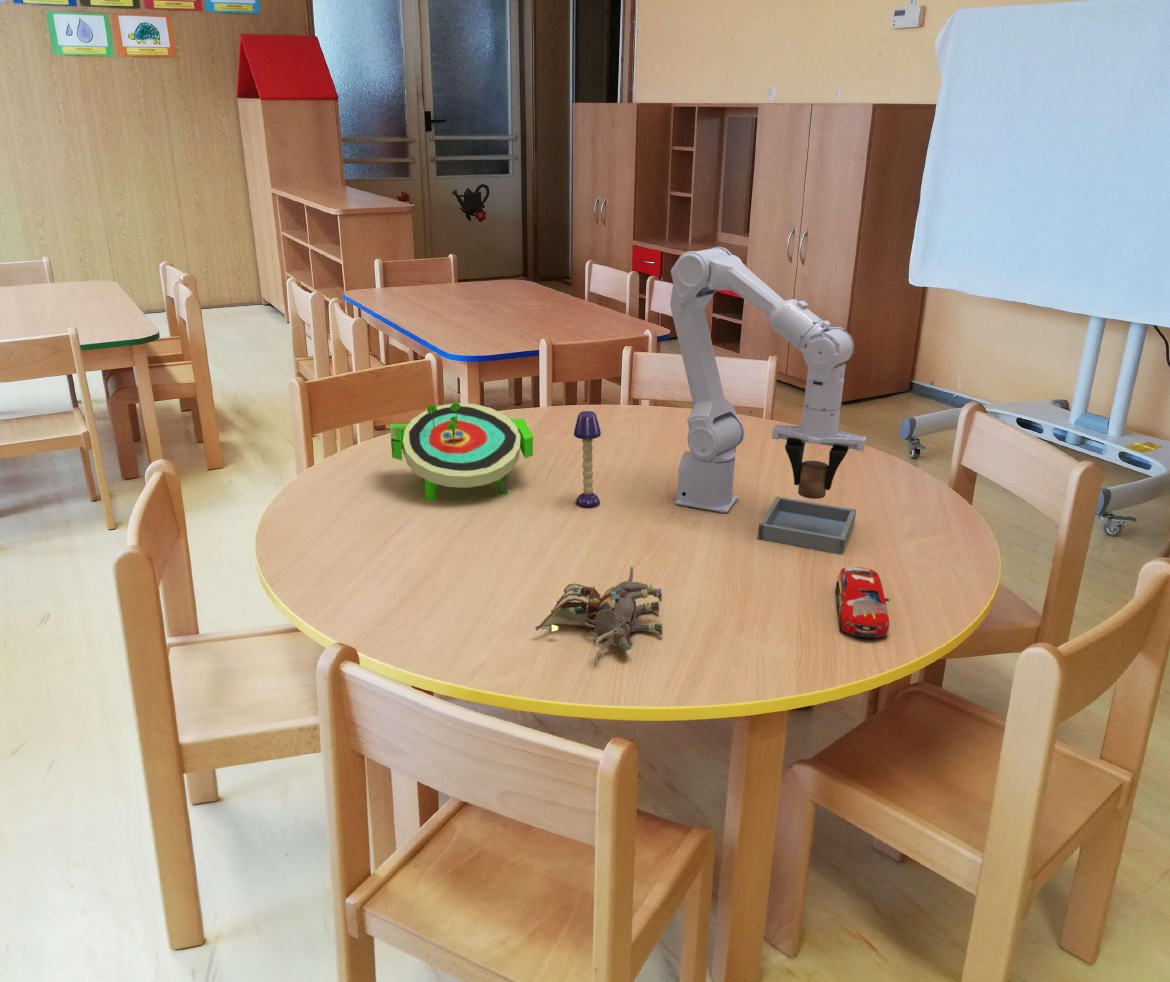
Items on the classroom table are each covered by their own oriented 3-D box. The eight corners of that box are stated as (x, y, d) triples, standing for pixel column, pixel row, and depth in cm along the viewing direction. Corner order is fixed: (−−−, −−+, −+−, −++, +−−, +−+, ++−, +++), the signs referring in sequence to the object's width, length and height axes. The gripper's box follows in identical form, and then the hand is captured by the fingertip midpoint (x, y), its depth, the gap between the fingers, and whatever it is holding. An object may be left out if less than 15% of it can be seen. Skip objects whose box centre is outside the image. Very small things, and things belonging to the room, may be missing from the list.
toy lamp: (575, 509, 163) (577, 417, 157) (570, 499, 167) (572, 409, 161) (602, 507, 164) (605, 416, 158) (596, 497, 168) (599, 408, 162)
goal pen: (757, 538, 153) (759, 524, 152) (775, 509, 165) (776, 496, 164) (842, 554, 148) (844, 539, 148) (854, 523, 160) (856, 509, 159)
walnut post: (795, 496, 153) (798, 467, 151) (800, 487, 157) (803, 459, 155) (822, 500, 152) (826, 471, 150) (827, 491, 155) (830, 463, 153)
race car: (889, 647, 123) (894, 614, 121) (836, 640, 124) (841, 607, 122) (881, 590, 138) (885, 560, 136) (834, 584, 139) (838, 554, 137)
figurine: (670, 633, 114) (532, 633, 114) (668, 674, 117) (533, 674, 117) (656, 553, 132) (537, 553, 132) (655, 590, 135) (538, 590, 135)
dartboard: (395, 512, 160) (390, 422, 154) (392, 474, 177) (388, 392, 171) (539, 503, 165) (540, 416, 160) (523, 467, 182) (523, 387, 176)
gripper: (771, 406, 148) (763, 486, 153) (865, 418, 143) (854, 501, 148) (780, 395, 154) (772, 472, 159) (871, 406, 149) (860, 486, 154)
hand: (812, 485), depth 154 cm, fingers closed on walnut post, 4 cm apart
